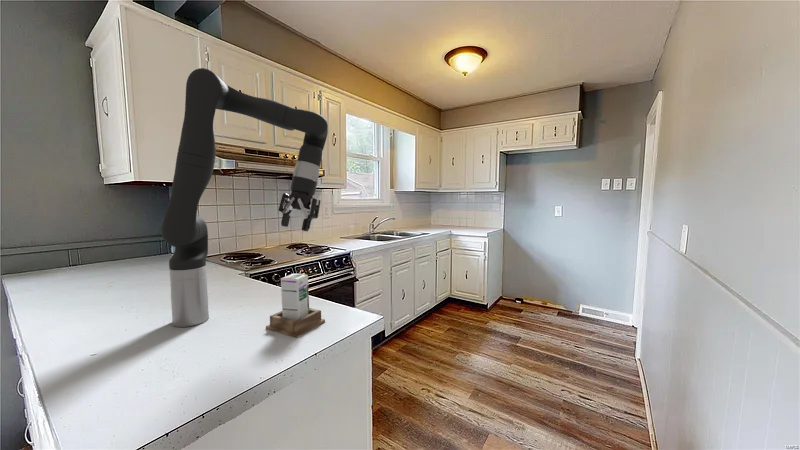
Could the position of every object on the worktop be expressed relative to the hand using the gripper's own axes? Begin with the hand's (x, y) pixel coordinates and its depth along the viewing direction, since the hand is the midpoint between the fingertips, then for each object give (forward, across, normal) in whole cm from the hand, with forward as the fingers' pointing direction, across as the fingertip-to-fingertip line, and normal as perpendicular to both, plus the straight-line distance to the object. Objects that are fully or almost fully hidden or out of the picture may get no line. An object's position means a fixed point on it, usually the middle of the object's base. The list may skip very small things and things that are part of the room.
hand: (294, 228), depth 95 cm
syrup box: (+28, +7, +2) cm, 29 cm away
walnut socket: (+28, +7, +2) cm, 29 cm away
